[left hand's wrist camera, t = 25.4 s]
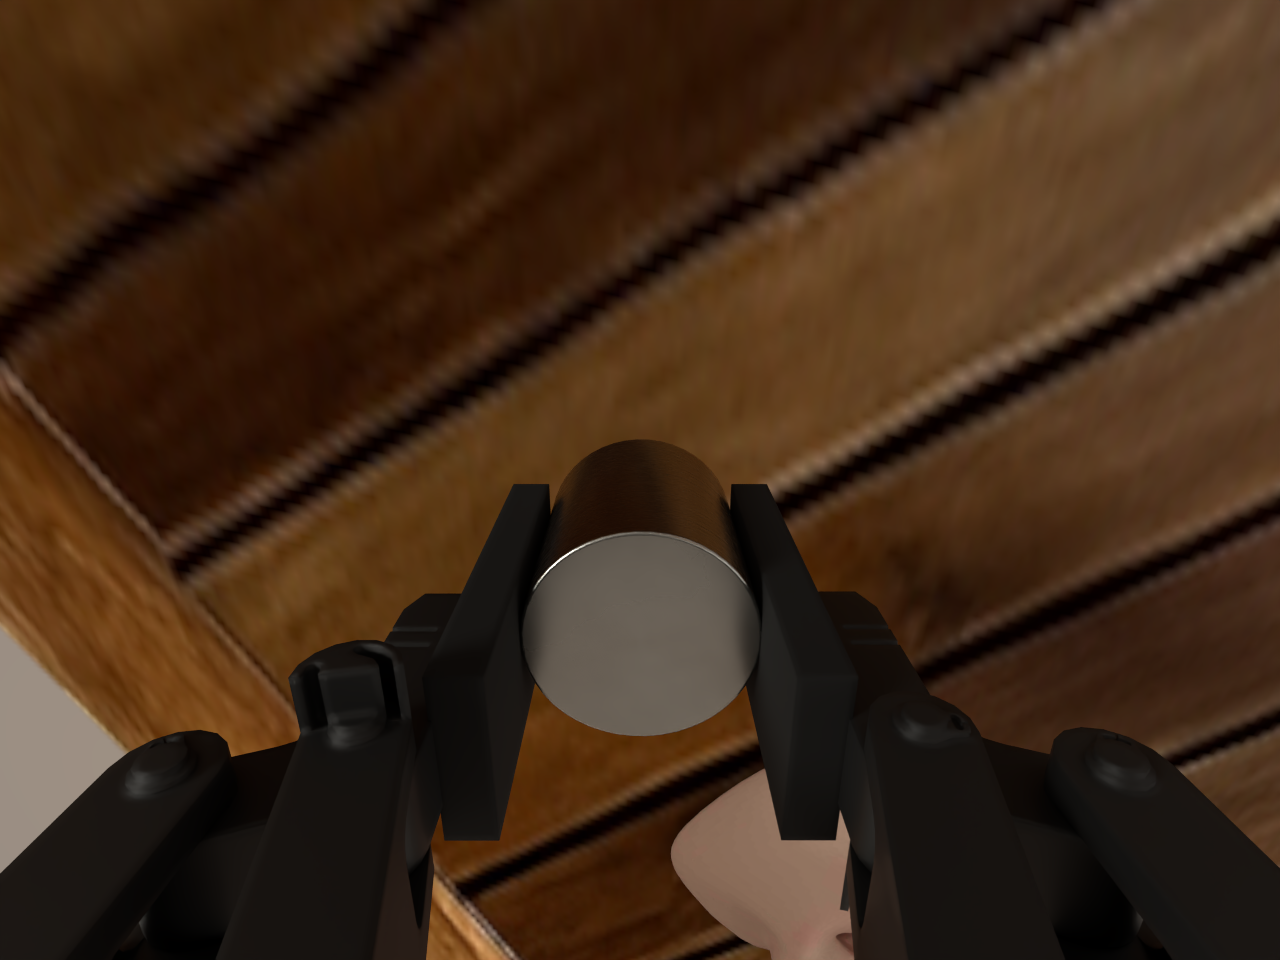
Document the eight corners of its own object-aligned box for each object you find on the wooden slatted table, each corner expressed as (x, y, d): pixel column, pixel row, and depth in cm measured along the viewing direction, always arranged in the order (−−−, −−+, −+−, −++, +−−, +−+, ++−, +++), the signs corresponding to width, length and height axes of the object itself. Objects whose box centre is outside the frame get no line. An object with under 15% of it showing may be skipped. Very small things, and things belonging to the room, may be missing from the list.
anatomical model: (630, 992, 24) (822, 771, 20) (631, 888, 27) (793, 686, 24) (929, 1106, 26) (1147, 927, 23) (893, 996, 30) (1075, 827, 26)
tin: (702, 415, 14) (727, 501, 10) (748, 572, 15) (787, 705, 11) (526, 468, 15) (481, 572, 10) (587, 617, 16) (567, 760, 12)
